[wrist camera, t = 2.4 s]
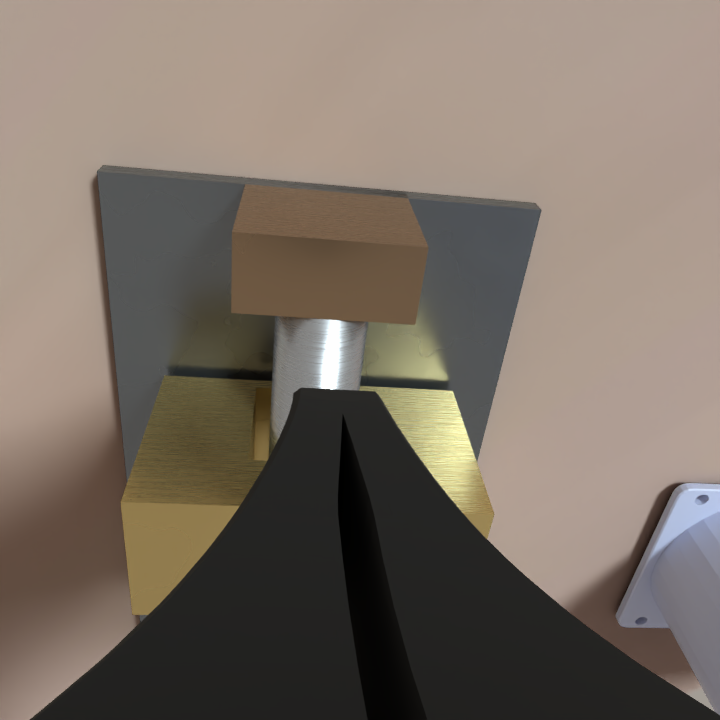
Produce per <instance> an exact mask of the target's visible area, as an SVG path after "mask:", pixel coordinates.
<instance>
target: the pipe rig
mask: <svg viewBox="0 0 720 720" xmlns="http://www.w3.org/2000/svg"><path fill="white" fill-rule="evenodd" d="M97 176H98V187H99V197H100V208H101V218H102V228H103V239H104V249H105V260H106V270H107V280H108V291H109V301H110V312H111V322H112V332H113V343H114V353H115V364H116V374H117V385H118V395H119V405H120V416H121V426H122V437H123V447H124V457H125V468H126V478H127V482H128V479H129V476H130V473H131V471H132V468H133V465H134V462H135V459H136V456H137V453H138V450H139V447H140V444H141V442H142V439H143V436H144V433H145V430H146V427H147V424H148V421H149V418H150V416H151V413H152V410H153V407H154V404H155V401H156V398H157V395H158V392H159V389H160V387H161V384H162V381H163V378H164V375H166V376H184V377H203V378H222V379H241V380H259V381H272V393H271V414H270V435H269V456H270V454H271V452H272V451H273V449H274V447H275V445H276V443H277V441H278V439H279V437H280V434H281V432H282V430H283V427H284V425H285V423H286V420H287V417H288V415H289V412H290V408H291V405H292V401H293V393H294V392H295V391H297V390H298V389H300V388H320V389H339V390H359V389H360V386H372V387H391V388H410V389H428V390H447V391H453V393H454V396H455V399H456V402H457V405H458V408H459V411H460V414H461V417H462V420H463V423H464V426H465V429H466V432H467V435H468V438H469V441H470V443H471V446H472V449H473V452H474V455H475V458H476V461H477V460H478V456H479V452H480V448H481V444H482V440H483V436H484V433H485V429H486V425H487V421H488V417H489V413H490V409H491V405H492V401H493V397H494V394H495V390H496V386H497V382H498V378H499V374H500V370H501V366H502V362H503V358H504V354H505V351H506V347H507V343H508V339H509V335H510V331H511V327H512V323H513V319H514V315H515V311H516V308H517V304H518V300H519V296H520V292H521V288H522V284H523V280H524V276H525V272H526V268H527V265H528V261H529V257H530V253H531V249H532V245H533V241H534V237H535V233H536V229H537V226H538V222H539V218H540V214H541V209H540V208H539V207H538V206H537V205H536V203H528V202H517V201H505V200H494V199H483V198H471V197H460V196H448V195H437V194H426V193H414V192H403V191H391V190H380V189H369V188H357V187H346V186H334V185H323V184H312V183H300V182H289V181H277V180H266V179H255V178H243V177H232V176H220V175H209V174H198V173H186V172H175V171H163V170H152V169H141V168H129V167H118V166H106V165H103V166H102V167H101V168H100V169H99V170H98V171H97ZM268 458H269V457H268ZM146 616H148V615H140V622H141V621H142V620H143V619H144V618H145V617H146Z"/></svg>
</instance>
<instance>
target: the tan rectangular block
mask: <svg viewBox="0 0 720 720" xmlns="http://www.w3.org/2000/svg"><path fill="white" fill-rule="evenodd" d="M359 391H375V392H376V393H377V394H378V395H379V396H380V397H381V399H382V401H383V402H384V404H385V406H386V408H387V409H388V411H389V413H390V414H391V416H392V418H393V419H394V421H395V422H396V424H397V426H398V427H399V429H400V430H401V432H402V433H403V435H404V436H405V438H406V439H407V441H408V442H409V444H410V445H411V447H412V448H413V450H414V451H415V452H416V454H417V455H418V457H419V458H420V459H421V461H422V462H423V463H424V465H425V466H426V467H427V469H428V470H429V471H430V473H431V474H432V476H433V477H434V478H435V480H436V481H437V482H438V483H439V485H440V486H441V487H442V488H443V490H444V491H445V492H446V494H447V495H448V496H449V497H450V498H451V499H452V501H453V502H454V503H455V504H456V505H457V507H458V508H459V509H460V510H461V511H462V513H463V514H464V515H465V516H466V517H467V518H468V519H469V520H470V522H471V523H472V524H473V525H474V526H475V527H476V528H477V529H478V530H479V531H480V533H481V534H482V535H483V536H484V537H485V538H486V539H487V538H488V534H489V531H490V527H491V524H492V520H493V517H494V512H493V509H492V506H491V503H490V500H489V497H488V494H487V491H486V488H485V485H484V482H483V479H482V476H481V473H480V470H479V467H478V464H477V461H476V458H475V455H474V452H473V449H472V446H471V443H470V441H469V438H468V435H467V432H466V429H465V426H464V423H463V420H462V417H461V414H460V411H459V408H458V405H457V402H456V399H455V396H454V393H453V391H447V390H428V389H410V388H391V387H372V386H360V389H359ZM271 393H272V381H259V380H241V379H222V378H203V377H184V376H166V375H164V378H163V381H162V384H161V387H160V389H159V392H158V395H157V398H156V401H155V404H154V407H153V410H152V413H151V416H150V418H149V421H148V424H147V427H146V430H145V433H144V436H143V439H142V442H141V444H140V447H139V450H138V453H137V456H136V459H135V462H134V465H133V468H132V471H131V473H130V476H129V479H128V482H127V485H126V488H125V491H124V494H123V497H122V499H121V511H122V521H123V531H124V540H125V550H126V559H127V569H128V578H129V588H130V597H131V607H132V615H149V614H150V613H151V612H152V611H153V610H154V609H155V608H156V607H157V606H158V605H159V604H160V603H161V602H162V601H163V600H164V599H165V598H166V596H167V595H168V594H169V593H170V592H171V591H172V590H173V589H174V588H175V587H176V586H177V585H178V583H179V582H180V581H181V580H182V579H183V578H184V577H185V575H186V574H187V573H188V572H189V571H190V570H191V568H192V567H193V566H194V565H195V564H196V563H197V561H198V560H199V559H200V558H201V557H202V556H203V554H204V553H205V552H206V551H207V550H208V548H209V547H210V546H211V545H212V543H213V542H214V541H215V539H216V538H217V537H218V535H219V534H220V533H221V532H222V530H223V529H224V528H225V526H226V525H227V523H228V522H229V521H230V519H231V518H232V516H233V515H234V514H235V512H236V511H237V509H238V508H239V506H240V505H241V503H242V502H243V500H244V499H245V497H246V495H247V494H248V492H249V491H250V489H251V487H252V486H253V484H254V483H255V481H256V479H257V478H258V476H259V475H260V473H261V471H262V470H263V468H264V466H265V464H266V462H267V460H268V457H269V435H270V414H271Z"/></svg>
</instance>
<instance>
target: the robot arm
mask: <svg viewBox="0 0 720 720" xmlns="http://www.w3.org/2000/svg"><path fill="white" fill-rule="evenodd" d="M700 495H701V496H700ZM698 496H699V497H698ZM616 619H617V621H618V623H619V625H620V626H622V627H627V628H670V630H671V632H672V633H673V635H674V637H675V639H676V641H677V643H678V644H679V646H680V648H681V650H682V652H683V654H684V656H685V657H686V659H687V661H688V663H689V665H690V667H691V668H692V670H693V672H694V674H695V676H696V678H697V680H698V681H699V683H700V685H701V687H702V689H703V691H704V692H705V694H706V696H707V698H708V700H709V702H710V704H711V705H712V707H713V709H714V711H715V712H714V711H712V710H711V709H709V708H708V707H706V706H704V705H703V704H701V703H700V702H698V701H696V700H695V699H693V698H692V697H690V696H689V695H687V694H686V693H684V692H682V691H681V690H679V689H678V688H676V687H675V686H673V685H671V684H670V683H668V682H667V681H665V680H664V679H662V678H660V677H659V676H657V675H656V674H654V673H652V672H651V671H649V670H648V669H646V668H645V667H643V666H642V665H640V664H639V663H637V662H636V661H634V660H633V659H631V658H630V657H629V656H627V655H626V654H624V653H623V652H622V651H620V650H619V649H617V648H616V647H615V646H613V645H612V644H611V643H609V642H608V641H606V640H605V639H604V638H602V637H601V636H599V635H598V634H597V633H595V632H594V631H593V630H591V629H590V628H588V627H587V626H586V625H585V624H583V623H582V622H581V621H579V620H578V619H577V618H576V617H574V616H573V615H572V614H570V613H569V612H568V611H567V610H565V609H564V608H563V607H562V606H560V605H559V604H558V603H557V602H556V601H554V600H553V599H552V598H551V597H550V596H549V595H547V594H546V593H545V592H544V591H543V590H541V589H540V588H539V587H538V586H537V585H535V584H534V583H533V582H532V581H531V580H530V579H528V578H527V577H526V576H525V575H524V574H523V573H522V572H521V571H519V570H518V569H517V568H516V567H515V566H514V565H513V564H512V563H511V562H510V561H508V560H507V559H506V558H505V557H504V556H503V555H502V554H501V553H500V552H499V551H498V550H497V549H496V548H495V547H494V546H493V545H492V544H491V543H490V542H489V541H488V540H487V539H486V538H485V537H484V536H483V535H482V534H481V533H480V531H479V530H478V529H477V528H476V527H475V526H474V525H473V524H472V523H471V522H470V520H469V519H468V518H467V517H466V516H465V515H464V514H463V513H462V511H461V510H460V509H459V508H458V507H457V505H456V504H455V503H454V502H453V501H452V499H451V498H450V497H449V496H448V495H447V494H446V492H445V491H444V490H443V488H442V487H441V486H440V485H439V483H438V482H437V481H436V480H435V478H434V477H433V476H432V474H431V473H430V471H429V470H428V469H427V467H426V466H425V465H424V463H423V462H422V461H421V459H420V458H419V457H418V455H417V454H416V452H415V451H414V450H413V448H412V447H411V445H410V444H409V442H408V441H407V439H406V438H405V436H404V435H403V433H402V432H401V430H400V429H399V427H398V426H397V424H396V422H395V421H394V419H393V418H392V416H391V414H390V413H389V411H388V409H387V408H386V406H385V404H384V402H383V401H382V399H381V397H380V396H379V395H378V394H377V393H376V392H375V391H359V390H339V389H320V388H300V389H298V390H297V391H295V392H294V393H293V401H292V405H291V408H290V412H289V415H288V417H287V420H286V423H285V425H284V427H283V430H282V432H281V434H280V437H279V439H278V441H277V443H276V445H275V447H274V449H273V451H272V452H271V454H270V456H269V458H268V460H267V462H266V464H265V466H264V468H263V470H262V471H261V473H260V475H259V476H258V478H257V479H256V481H255V483H254V484H253V486H252V487H251V489H250V491H249V492H248V494H247V495H246V497H245V499H244V500H243V502H242V503H241V505H240V506H239V508H238V509H237V511H236V512H235V514H234V515H233V516H232V518H231V519H230V521H229V522H228V523H227V525H226V526H225V528H224V529H223V530H222V532H221V533H220V534H219V535H218V537H217V538H216V539H215V541H214V542H213V543H212V545H211V546H210V547H209V548H208V550H207V551H206V552H205V553H204V554H203V556H202V557H201V558H200V559H199V560H198V561H197V563H196V564H195V565H194V566H193V567H192V568H191V570H190V571H189V572H188V573H187V574H186V575H185V577H184V578H183V579H182V580H181V581H180V582H179V583H178V585H177V586H176V587H175V588H174V589H173V590H172V591H171V592H170V593H169V594H168V595H167V596H166V598H165V599H164V600H163V601H162V602H161V603H160V604H159V605H158V606H157V607H156V608H155V609H154V610H153V611H152V612H151V613H150V614H149V615H148V616H146V617H145V618H144V619H143V620H142V621H141V622H140V623H139V624H138V625H137V626H136V627H135V628H134V629H133V630H132V631H131V632H130V633H129V634H128V635H127V636H126V637H125V638H124V639H123V640H122V641H121V642H120V643H119V644H118V645H117V646H116V647H115V648H114V649H113V650H112V651H110V652H109V653H108V654H107V655H106V656H105V657H104V658H103V659H102V660H100V661H99V662H98V663H97V664H96V665H95V666H94V667H92V668H91V669H90V670H89V671H88V672H86V673H85V674H84V675H83V676H82V677H80V678H79V679H78V680H77V681H76V682H74V683H73V684H72V685H71V686H70V687H69V688H67V689H66V690H65V691H64V692H63V693H61V694H60V695H59V696H58V697H57V698H55V699H54V700H53V701H52V702H51V703H49V704H48V705H47V706H46V707H45V708H43V709H42V710H41V711H40V712H39V713H37V714H36V715H35V716H34V717H33V718H31V719H30V720H720V484H700V483H686V484H682V485H679V486H678V487H677V488H675V490H674V491H673V493H672V495H671V497H670V499H669V501H668V503H667V505H666V508H665V510H664V512H663V514H662V516H661V518H660V521H659V523H658V525H657V527H656V529H655V531H654V533H653V536H652V538H651V540H650V542H649V544H648V546H647V548H646V551H645V553H644V555H643V557H642V559H641V561H640V563H639V566H638V568H637V570H636V572H635V574H634V576H633V578H632V581H631V583H630V585H629V587H628V589H627V591H626V594H625V596H624V598H623V600H622V602H621V604H620V606H619V609H618V611H617V613H616Z"/></svg>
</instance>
